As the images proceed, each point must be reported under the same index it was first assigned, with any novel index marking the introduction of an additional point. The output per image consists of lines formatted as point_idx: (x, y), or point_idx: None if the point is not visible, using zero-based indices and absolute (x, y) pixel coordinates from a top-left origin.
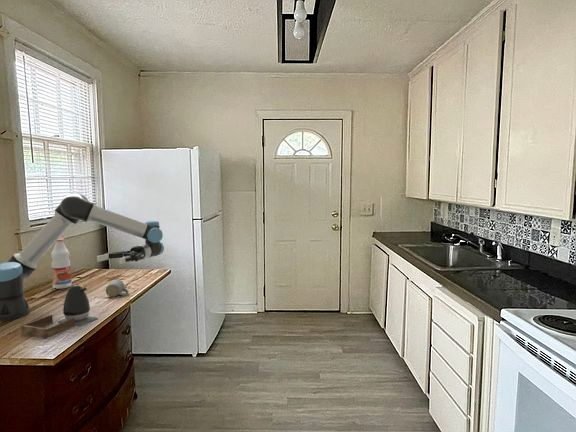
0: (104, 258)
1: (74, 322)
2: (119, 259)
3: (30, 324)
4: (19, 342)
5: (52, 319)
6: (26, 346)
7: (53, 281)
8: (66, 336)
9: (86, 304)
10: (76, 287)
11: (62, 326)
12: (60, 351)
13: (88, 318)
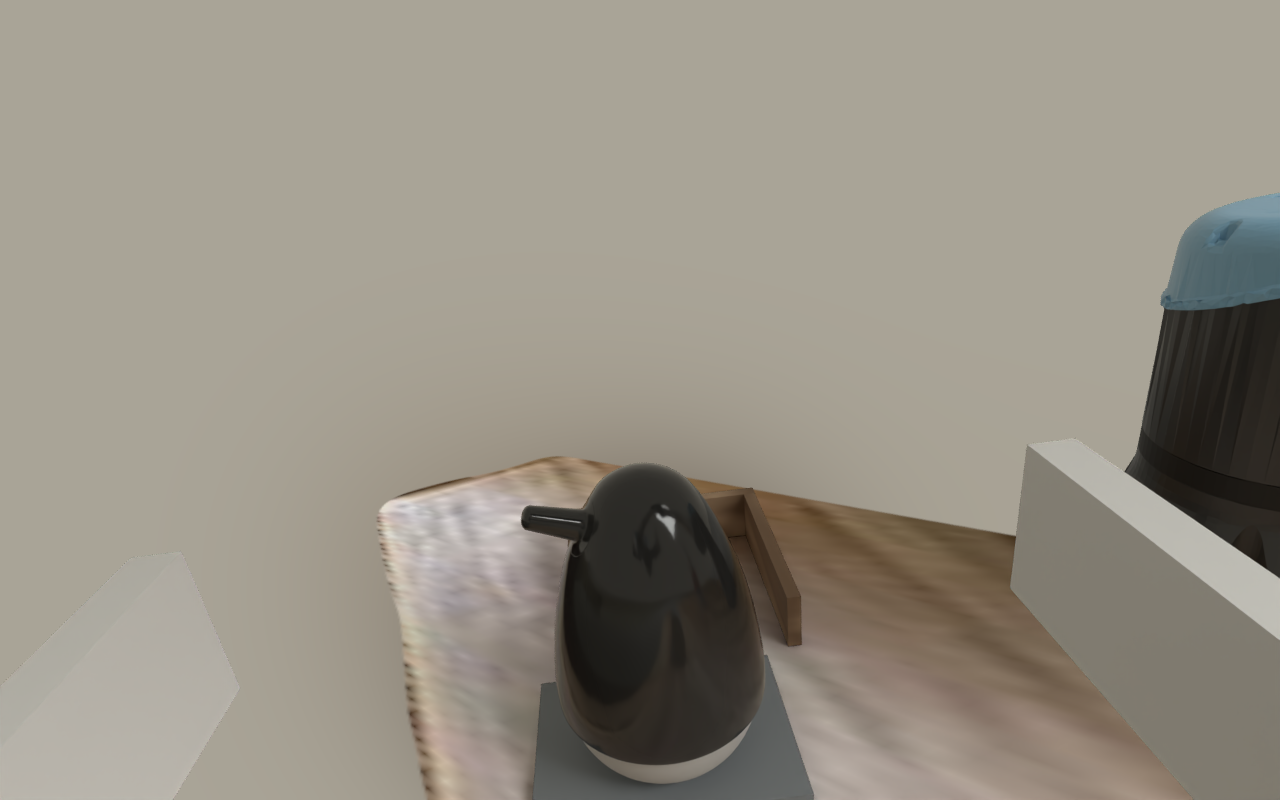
0: (1210, 743)
1: None
2: (167, 585)
3: (751, 519)
4: None
5: (788, 625)
6: (581, 499)
7: None
8: (495, 593)
9: (556, 650)
10: (605, 477)
11: None
12: (393, 529)
13: (596, 783)
